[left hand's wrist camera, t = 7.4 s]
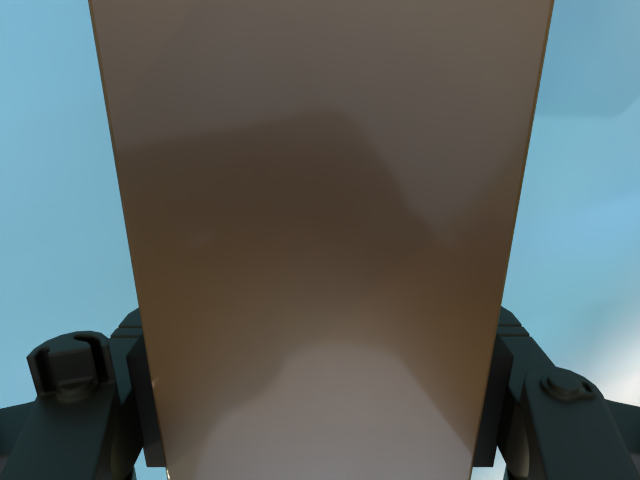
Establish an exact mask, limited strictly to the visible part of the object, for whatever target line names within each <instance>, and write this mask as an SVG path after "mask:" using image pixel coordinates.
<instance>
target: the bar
mask: <svg viewBox="0 0 640 480" xmlns="http://www.w3.org/2000/svg"><path fill="white" fill-rule="evenodd" d="M88 3H89V9H90V15H91V21H92V27H93V33H94V39H95V45H96V51H97V57H98V63H99V69H100V75H101V81H102V87H103V93H104V99H105V105H106V111H107V117H108V123H109V130H110V136H111V142H112V148H113V154H114V160H115V166H116V172H117V178H118V184H119V190H120V196H121V202H122V208H123V214H124V220H125V226H126V232H127V238H128V244H129V250H130V256H131V262H132V268H133V274H134V280H135V286H136V292H137V298H138V304H139V311H140V317H141V323H142V329H143V335H144V341H145V347H146V353H147V359H148V365H149V371H150V377H151V383H152V389H153V395H154V401H155V407H156V413H157V419H158V425H159V431H160V437H161V443H162V449H163V455H164V461H165V467H166V473H167V479H168V480H471V474H472V468H473V463H474V457H475V451H476V445H477V440H478V434H479V428H480V423H481V417H482V411H483V405H484V400H485V394H486V388H487V383H488V377H489V371H490V365H491V360H492V354H493V348H494V343H495V337H496V331H497V325H498V320H499V314H500V308H501V303H502V297H503V291H504V285H505V280H506V274H507V268H508V262H509V257H510V251H511V245H512V240H513V234H514V228H515V222H516V217H517V211H518V205H519V200H520V194H521V188H522V182H523V177H524V171H525V165H526V160H527V154H528V148H529V142H530V137H531V131H532V125H533V120H534V114H535V108H536V102H537V97H538V91H539V85H540V80H541V74H542V68H543V62H544V57H545V51H546V45H547V40H548V34H549V28H550V22H551V17H552V11H553V5H554V0H88Z"/></svg>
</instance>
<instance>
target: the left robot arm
mask: <svg viewBox="0 0 640 480" xmlns="http://www.w3.org/2000/svg"><path fill="white" fill-rule="evenodd" d="M26 358H27V361H28V365H29V368H30V372H31V375H32V379H33V382H34V385H35V389H36V392H37V397H36V400H35V401H33V402H30V403H26V404H21V405H16V406H11V407H7V408H2V409H0V480H137V479H136V473H135V468H134V464H135V462H136V460H137V458H138V456H139V454H140V452H141V450H142V448H143V450H144V455H145V460H146V465H147V467H165V461H164V455H163V449H162V443H161V437H160V431H159V425H158V419H157V413H156V407H155V401H154V395H153V389H152V383H151V377H150V371H149V365H148V359H147V353H146V347H145V341H144V335H143V329H142V323H141V317H140V311H139V308H137V309H136V310H134V311H132V312H131V313H129V314H128V315H127V316H126V317H125V319H124V320H123V321H122V322H121V324H120V325H119V328H117V329H116V330H115V331H114V332H113V334H112V335H111V338H107V337H106V336H105V335H103V334H102V333H99V332H94V331H77V332H72V333H68V334H64V335H60V336H58V337H55V338H53V339H50V340H48V341H46V342H44V343H43V344H41V345H39V346H38V347H36V348H35V349H34V350H33V351H32V352H31V353H30V354H29V355H28V356H27V357H26ZM497 446H498V448H499V450H500V452H501V454H502V456H503V458H504V460H505V463H506V468H505V473H504V478H503V480H640V407H638V406H633V405H628V404H623V403H619V402H614V401H610V400H606V399H604V397H603V395H602V393H601V392H600V391H599V389H598V388H597V387H596V385H594V384H593V383H592V382H590V381H589V380H587V379H586V378H585V377H583V376H581V375H579V374H577V373H574V372H572V371H570V370H566V369H563V368H559V367H556V366H555V365H554V364H553V363H552V361H551V360H550V359H549V358H548V357H547V355H546V354H545V353H544V352H543V350H542V349H541V348H540V347H539V345H538V344H537V343H536V342H535V341H534V339H533V338H532V337H530V336H529V333H528V332H527V331H526V329H525V328H524V327H522V326H521V323H520V322H519V321H518V320H517V318H516V317H515V316H514V315H513V313H511V312H510V311H508V310H507V309H505V308H504V307H502V306H501V308H500V314H499V320H498V325H497V331H496V337H495V343H494V348H493V354H492V360H491V365H490V371H489V377H488V383H487V388H486V394H485V400H484V405H483V411H482V417H481V423H480V428H479V434H478V440H477V445H476V451H475V457H474V463H473V467H493V464H494V459H495V454H496V448H497Z"/></svg>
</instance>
